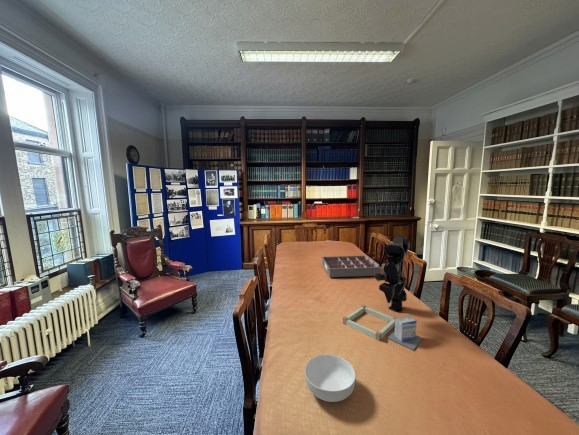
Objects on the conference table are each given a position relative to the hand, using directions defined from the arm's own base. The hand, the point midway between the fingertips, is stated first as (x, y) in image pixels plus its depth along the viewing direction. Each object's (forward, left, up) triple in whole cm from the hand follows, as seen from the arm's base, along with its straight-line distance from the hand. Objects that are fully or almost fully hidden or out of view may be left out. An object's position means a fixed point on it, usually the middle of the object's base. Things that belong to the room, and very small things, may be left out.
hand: (392, 299), depth 119 cm
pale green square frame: (+9, -7, -12) cm, 17 cm away
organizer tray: (-49, -57, -12) cm, 76 cm away
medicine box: (+9, +10, -12) cm, 18 cm away
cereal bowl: (+55, +3, -12) cm, 56 cm away
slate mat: (+9, +10, -12) cm, 18 cm away
